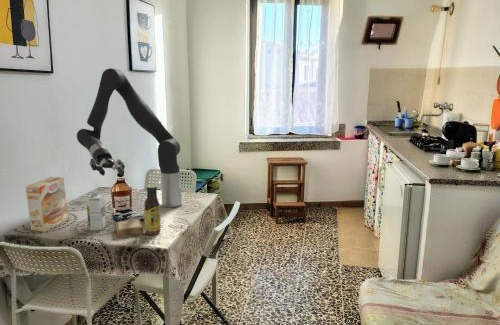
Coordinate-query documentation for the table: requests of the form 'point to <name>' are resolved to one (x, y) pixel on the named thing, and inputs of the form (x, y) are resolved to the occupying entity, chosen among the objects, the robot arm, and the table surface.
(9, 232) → the table surface
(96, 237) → the table surface
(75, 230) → the table surface
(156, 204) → the sauce bottle
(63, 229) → the table surface
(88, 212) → the syrup box
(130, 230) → the pedestal
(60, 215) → the coffeecake box
